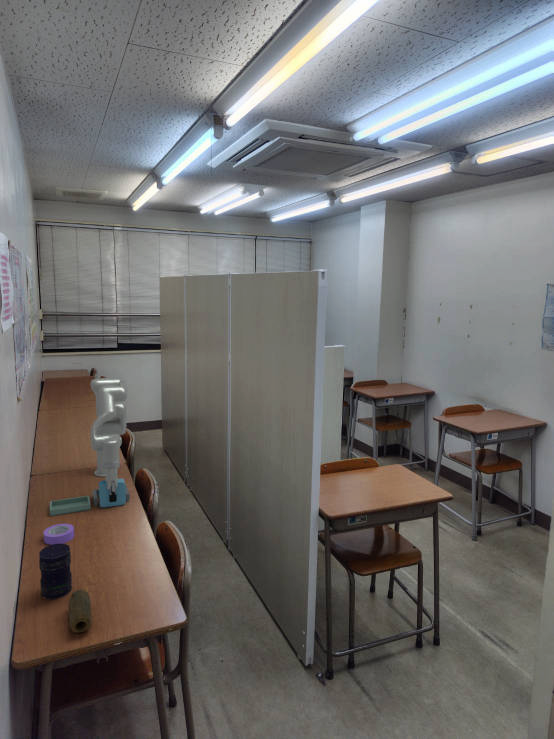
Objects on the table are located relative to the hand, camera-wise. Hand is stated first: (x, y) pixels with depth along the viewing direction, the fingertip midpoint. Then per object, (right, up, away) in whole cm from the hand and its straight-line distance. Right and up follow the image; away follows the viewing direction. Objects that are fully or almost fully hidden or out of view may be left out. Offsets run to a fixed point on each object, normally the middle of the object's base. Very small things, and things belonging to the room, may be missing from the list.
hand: (112, 499), depth 230 cm
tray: (-19, -3, -4) cm, 20 cm away
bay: (-3, -2, +7) cm, 8 cm away
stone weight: (+18, -16, -81) cm, 85 cm away
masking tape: (-12, -8, -32) cm, 34 cm away
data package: (0, -3, 0) cm, 3 cm away
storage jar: (+4, -14, -67) cm, 68 cm away
